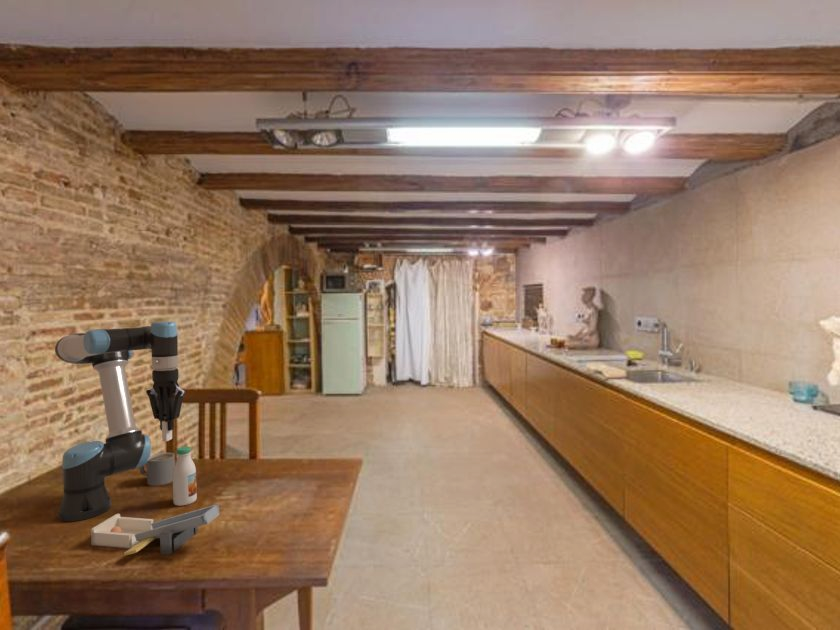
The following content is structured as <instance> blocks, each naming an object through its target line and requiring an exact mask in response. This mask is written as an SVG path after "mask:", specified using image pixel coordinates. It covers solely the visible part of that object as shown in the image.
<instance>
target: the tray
mask: <svg viewBox="0 0 840 630" xmlns="http://www.w3.org/2000/svg"><path fill="white" fill-rule="evenodd" d="M153 522H154V519H152V518H141V517H131V516H130V517H129V516H121V513H116V514H114V515H112V516H111V517H109V518H107V519H105V520H104V521H102V522H101V523H98V524H97V525H96V526H93V527H92V528H91V529H90V540H91V542H90V545H91V546H97V547H106V548H107V547H108V548H119V549H130V548H132V547H133V546H135V545H136V544H137V543H139V541H136V538H135V534H137V533H141V532H144V531H148V530H151V529H153V528H152V525H151V524H152V523H153ZM116 526H118V527H120V528H121V533H116V532H110V531H111V529H112V528H113V527H116Z"/></svg>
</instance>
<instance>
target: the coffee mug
mask: <svg viewBox="0 0 840 630" xmlns="http://www.w3.org/2000/svg"><path fill="white" fill-rule="evenodd" d="M175 456H176V455H175V453H173V452H160V453H154V454H152V455H150V457H149V460H148V462H147V463H146V464H145V465H144V466H146V470H145V469H144V468H145V467H144V466H141V467H139V472H140V473H139V474H141V475H143V476H145V477H146V481H147V483H146V484H147V485H149V486H153V487H157V486H163V485H168V484H170V483H173V469H174V466H175V464H176V462H175Z"/></svg>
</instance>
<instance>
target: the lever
mask: <svg viewBox="0 0 840 630" xmlns="http://www.w3.org/2000/svg"><path fill="white" fill-rule="evenodd" d="M220 509H221V508H220V506H219V504H218V503H217V504H212V505H210V506H206V507H202V508H199V509H195V510H191V511H187V512H188V513H187V512H186V513H181V514H178V515H175V516H171V517H167V518H165V519H160V520H158V521H153V523H152V524H151V525H152V528H153V529H151V530H148V531H144V532H141V533H137V534H135V538H136V541H139V542H138V543H137V544H135V545H134V546H132V547H131V548H128V550H126V551H124V552H123V553H124V556H125V557H126V556H128V555H133V554H136V553H138V552H139V551H141V550H142V549H144V548H145V547H146V546H148V545H149V544H150V543H151V542H153V541H154V540H155V539H158V538H159V539H160V532H161V531H172V535H173V534H174V533H177V532H181V531H184V530H188V529H192V528H195V527H197V528H199V527H201V526H206V525H208V524H210V523H211V522H213V520H215V519H216V518H217V517H218V516H219V515H220Z"/></svg>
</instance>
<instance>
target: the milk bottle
mask: <svg viewBox="0 0 840 630" xmlns="http://www.w3.org/2000/svg"><path fill="white" fill-rule="evenodd" d="M191 453H192V448H191V446H181V447H180V446H179V447H178V448H176V456H177V459H176V462H175V466H174V469H173V481H172V496H173V497H172V499H173V501H172V502H173V505H175V506H180V507H181V506H187V505H190V504H193V503H195V502H196V501H197V498H198V497H197V496H198V493H197V492H198V491H197V488H198V487H197V485H198V484H197V468H196V465H195V462H194V461H193V459H192V457H191Z"/></svg>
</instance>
